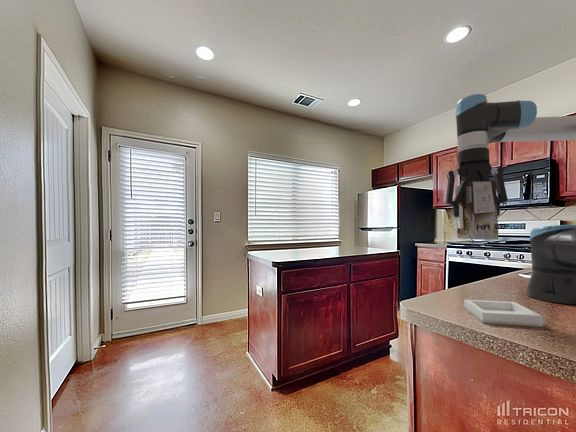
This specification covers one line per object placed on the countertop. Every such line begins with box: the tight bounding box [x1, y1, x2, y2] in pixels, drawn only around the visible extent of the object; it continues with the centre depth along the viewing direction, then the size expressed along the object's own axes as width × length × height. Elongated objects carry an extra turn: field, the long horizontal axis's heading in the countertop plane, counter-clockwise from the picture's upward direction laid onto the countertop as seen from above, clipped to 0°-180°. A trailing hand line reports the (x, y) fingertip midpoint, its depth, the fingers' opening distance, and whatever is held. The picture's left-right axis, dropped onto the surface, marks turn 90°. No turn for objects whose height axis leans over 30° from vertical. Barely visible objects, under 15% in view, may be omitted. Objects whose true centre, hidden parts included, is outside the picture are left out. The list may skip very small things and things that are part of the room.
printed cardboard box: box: [454, 180, 499, 240], centre depth 77 cm, size 9×6×16 cm
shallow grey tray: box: [463, 299, 544, 328], centre depth 69 cm, size 12×12×2 cm
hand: (476, 228), depth 77 cm, fingers closed on printed cardboard box, 7 cm apart
